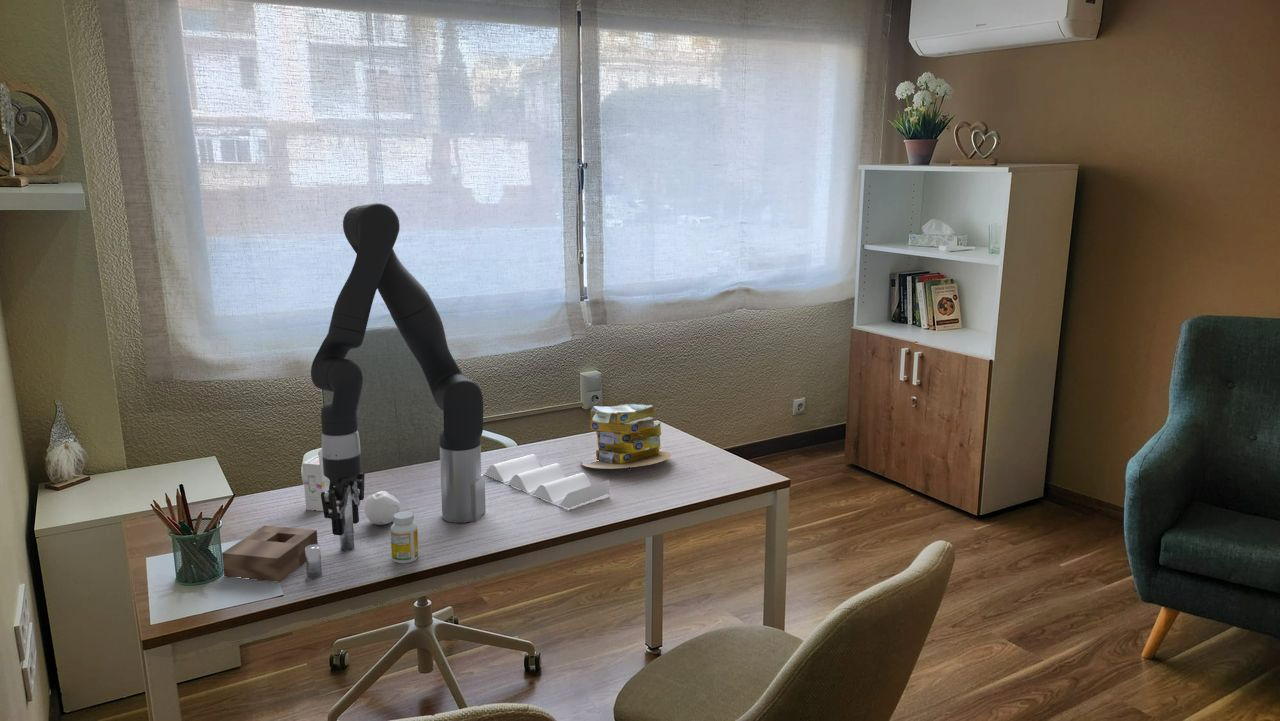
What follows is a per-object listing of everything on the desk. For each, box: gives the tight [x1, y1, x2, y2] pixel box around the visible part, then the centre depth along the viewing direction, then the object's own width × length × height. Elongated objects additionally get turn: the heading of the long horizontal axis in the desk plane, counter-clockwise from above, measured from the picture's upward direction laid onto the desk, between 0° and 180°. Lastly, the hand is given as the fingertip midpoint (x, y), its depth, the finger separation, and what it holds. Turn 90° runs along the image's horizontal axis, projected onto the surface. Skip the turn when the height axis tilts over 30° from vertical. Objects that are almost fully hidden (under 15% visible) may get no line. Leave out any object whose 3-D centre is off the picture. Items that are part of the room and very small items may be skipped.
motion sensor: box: [363, 490, 401, 526], centre depth 197 cm, size 8×8×8 cm
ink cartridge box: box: [301, 449, 338, 512], centre depth 207 cm, size 9×5×15 cm, turn 168°
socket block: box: [221, 525, 319, 583], centre depth 176 cm, size 12×14×5 cm
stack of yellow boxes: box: [581, 402, 672, 470], centre depth 239 cm, size 25×25×17 cm
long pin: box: [337, 490, 355, 552], centre depth 183 cm, size 3×3×13 cm
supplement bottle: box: [390, 510, 419, 564], centre depth 179 cm, size 5×5×10 cm
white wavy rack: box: [484, 453, 610, 508], centre depth 223 cm, size 13×35×5 cm, turn 45°
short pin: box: [305, 544, 323, 580], centre depth 172 cm, size 3×3×6 cm
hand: (346, 528), depth 184 cm, fingers open, 5 cm apart
